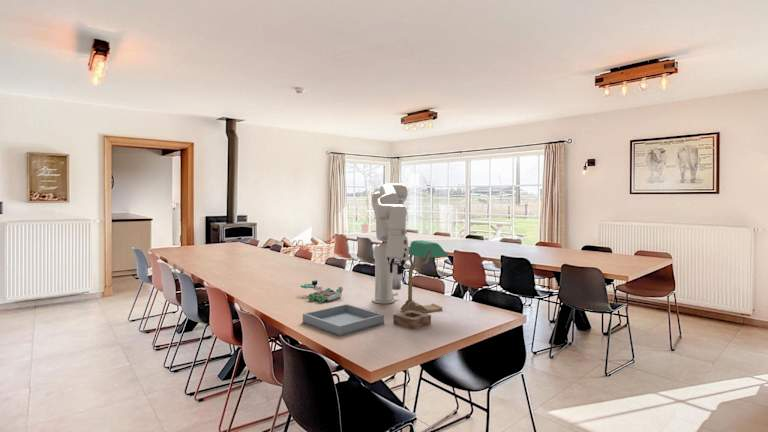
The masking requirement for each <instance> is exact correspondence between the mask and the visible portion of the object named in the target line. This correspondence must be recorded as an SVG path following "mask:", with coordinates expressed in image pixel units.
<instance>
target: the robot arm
mask: <svg viewBox="0 0 768 432" xmlns="http://www.w3.org/2000/svg"><path fill="white" fill-rule="evenodd" d="M408 194H409V192H408V188H407V186H406V185H405V184H403V183H385V184H384V183H383V185H381V186H380V188H379V191H376V192H374V193H373V194H372V195H371V205H372V209H373V211H374V215H375V235H376V239H377V241H379V242H386V243H379V244H376V245H375V246H374V248H373V256H374V257H373V258H374V277H375V279H374V297H372V298H371V301H372V302H373V303H375V304H383V305H385V304H387V305H389V304H392V303H395V302H396V299H395V298H394V297H396V296H397V297H398V295H399V293H398V291H396V292H393V289H392V262H399V265H398V274H401V275H403V274H404V266H405V264H406V263H407V262H409V261H410V260H409V256H410V255H409V249H410V246H409V239H408V236H407V235H406V234H408V230H406V229H407V227H406V225H407V224H406V222H407V216H408V215H407V214H408V210H407V208H406V206H405V205H404V204H405V202H406V201H407V198H408Z"/></svg>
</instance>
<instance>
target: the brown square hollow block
mask: <svg viewBox="0 0 768 432" xmlns="http://www.w3.org/2000/svg"><path fill="white" fill-rule="evenodd" d="M392 319H393V322H392V323H393V324H394V325H397V326H401V327H403V328H404V327H405V328H408V329H411V330H416V329H420V328H423V327H425V326H428V325H431V324H432V314H428V313H421V312H417V311H413V310H409V311H405V312H402V311H401V312H398V313H396V314H393V318H392Z"/></svg>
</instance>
